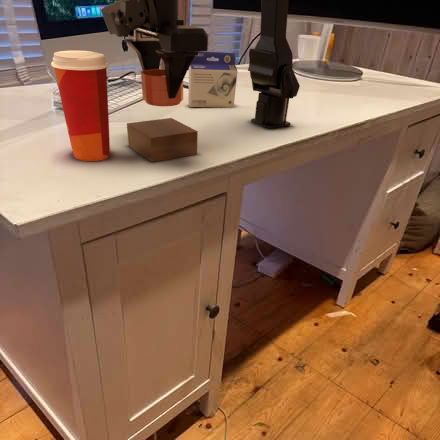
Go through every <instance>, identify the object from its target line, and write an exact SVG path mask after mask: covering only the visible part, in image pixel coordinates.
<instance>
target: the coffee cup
mask: <svg viewBox="0 0 440 440" xmlns="http://www.w3.org/2000/svg"><path fill="white" fill-rule="evenodd" d="M50 65H51V67H52V68H53V69H54V74H55V79H56V83H57V89H58V93H59V96H60V97H59V98H60V102H61V106H62V110H63V115H64V119H65V124H66V129H67V132H68V134H67V135H68V138H69V143H70V147H71V151H72V155H73V157H74V158H75V159H77V160H79V161H84V162H97V161H103V160H105V159H107V158H109V157H110V156H111V155H110V154H111V147H110V146H111V144H110V143H111V141H110V140H111V139H110V121H109V120H110V118H109V117H110V116H109V98H108V97H109V95H108V75H107V73H108V72H107V68H108V67H109V63H108V62H107V61H106V57H105V54H103V53H100V52H96V51H91V50H74V49H73V50H60V51H55V52H53V57H52V61H51V63H50Z"/></svg>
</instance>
